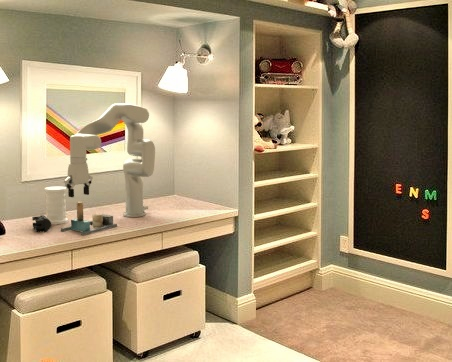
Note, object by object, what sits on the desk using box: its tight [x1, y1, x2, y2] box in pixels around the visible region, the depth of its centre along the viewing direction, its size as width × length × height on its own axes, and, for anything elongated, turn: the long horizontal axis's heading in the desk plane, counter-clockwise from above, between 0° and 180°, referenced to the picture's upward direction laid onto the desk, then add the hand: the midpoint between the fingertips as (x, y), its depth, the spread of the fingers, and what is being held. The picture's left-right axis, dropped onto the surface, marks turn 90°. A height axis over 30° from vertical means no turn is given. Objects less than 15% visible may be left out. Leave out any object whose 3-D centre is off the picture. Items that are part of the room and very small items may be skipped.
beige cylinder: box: [92, 213, 104, 229], centre depth 286 cm, size 5×5×6 cm
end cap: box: [31, 214, 52, 233], centre depth 278 cm, size 10×7×7 cm
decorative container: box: [44, 186, 69, 225], centre depth 295 cm, size 12×12×18 cm
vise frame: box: [60, 213, 118, 236], centre depth 282 cm, size 23×16×5 cm
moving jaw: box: [70, 201, 91, 233], centre depth 276 cm, size 3×10×14 cm, turn 57°
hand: (78, 195), depth 274 cm, fingers open, 9 cm apart
